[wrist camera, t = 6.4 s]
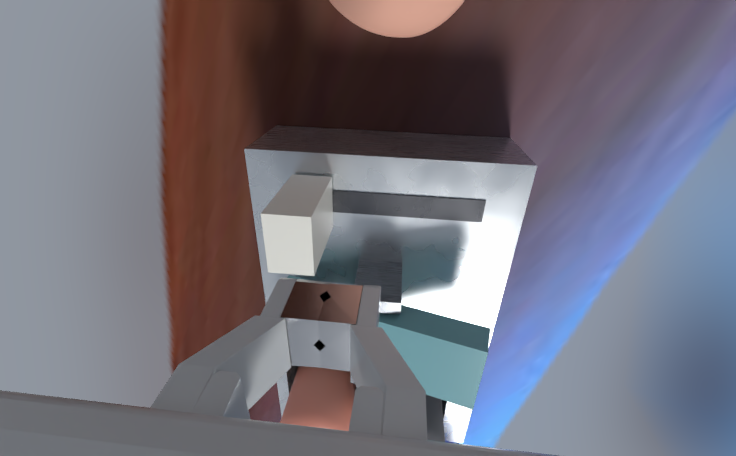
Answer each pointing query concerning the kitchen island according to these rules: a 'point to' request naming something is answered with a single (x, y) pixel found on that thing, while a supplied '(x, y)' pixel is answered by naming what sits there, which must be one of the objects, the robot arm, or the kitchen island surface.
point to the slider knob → (298, 225)
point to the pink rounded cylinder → (320, 399)
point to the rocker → (439, 352)
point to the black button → (434, 419)
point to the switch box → (405, 219)
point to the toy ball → (397, 15)
